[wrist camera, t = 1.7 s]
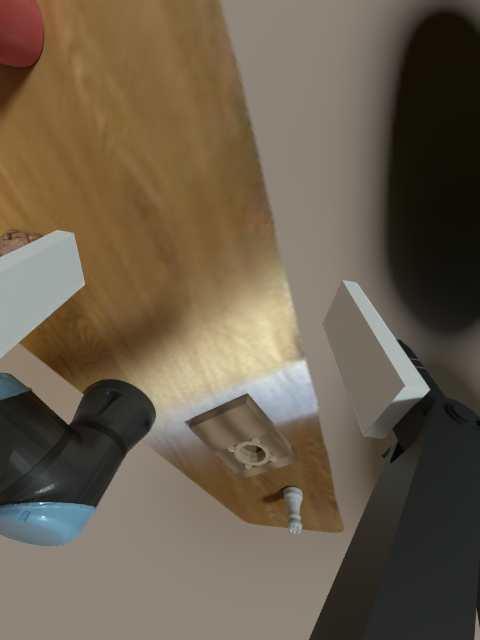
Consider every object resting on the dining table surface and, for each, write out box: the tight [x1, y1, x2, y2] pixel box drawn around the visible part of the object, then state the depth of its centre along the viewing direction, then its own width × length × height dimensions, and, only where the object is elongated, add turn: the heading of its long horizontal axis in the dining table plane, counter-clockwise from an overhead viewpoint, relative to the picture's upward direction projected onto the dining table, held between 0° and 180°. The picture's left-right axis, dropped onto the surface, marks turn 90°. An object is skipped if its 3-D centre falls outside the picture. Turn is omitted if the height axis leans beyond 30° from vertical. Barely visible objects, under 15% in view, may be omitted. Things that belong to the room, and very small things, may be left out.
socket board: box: [190, 394, 297, 479], centre depth 52 cm, size 14×18×2 cm
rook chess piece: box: [283, 486, 303, 534], centre depth 56 cm, size 4×4×8 cm
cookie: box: [0, 230, 42, 257], centre depth 40 cm, size 10×11×3 cm
